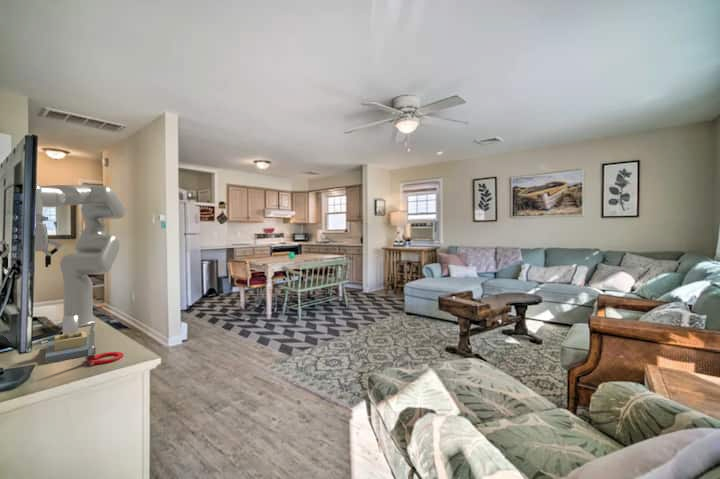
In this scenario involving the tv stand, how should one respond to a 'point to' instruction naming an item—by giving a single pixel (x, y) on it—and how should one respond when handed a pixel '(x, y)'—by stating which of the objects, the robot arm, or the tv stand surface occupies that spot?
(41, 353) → the tv stand surface
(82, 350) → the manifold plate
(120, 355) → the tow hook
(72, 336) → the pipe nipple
